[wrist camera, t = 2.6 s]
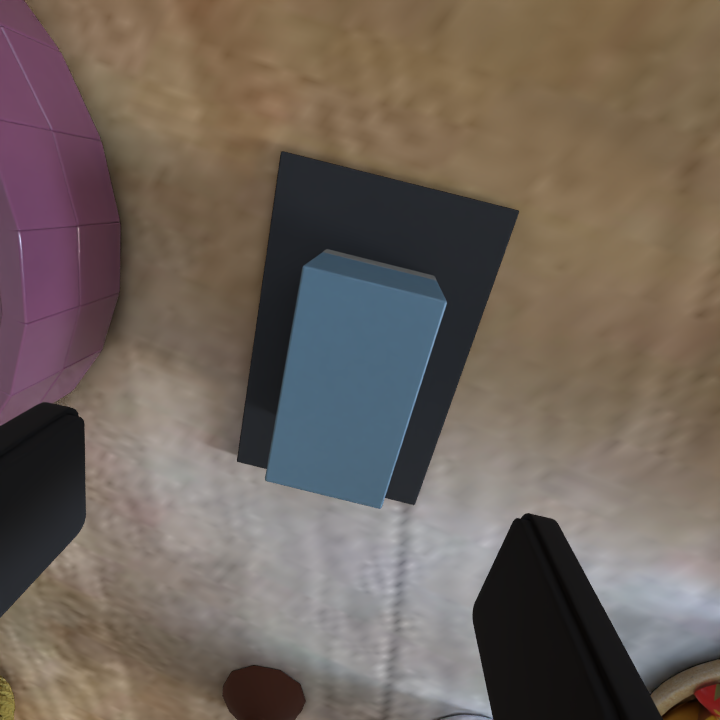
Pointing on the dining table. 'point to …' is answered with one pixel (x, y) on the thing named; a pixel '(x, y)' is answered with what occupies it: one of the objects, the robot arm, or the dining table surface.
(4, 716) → the sculpture
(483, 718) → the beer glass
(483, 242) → the rubber mat
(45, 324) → the serving bowl
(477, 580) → the dining table surface
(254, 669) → the ice cream bowl
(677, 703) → the toy food set
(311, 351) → the block
